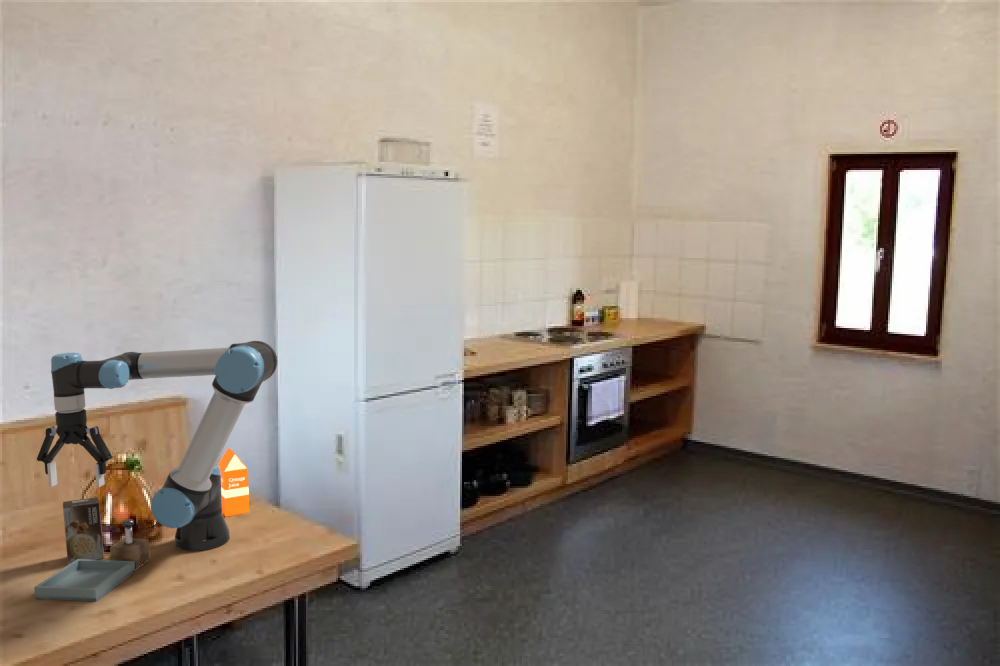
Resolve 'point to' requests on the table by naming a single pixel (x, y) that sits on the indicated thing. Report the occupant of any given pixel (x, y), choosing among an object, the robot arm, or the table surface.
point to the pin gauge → (128, 531)
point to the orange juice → (234, 485)
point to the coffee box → (83, 529)
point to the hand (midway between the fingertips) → (77, 485)
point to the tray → (84, 580)
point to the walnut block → (131, 551)
